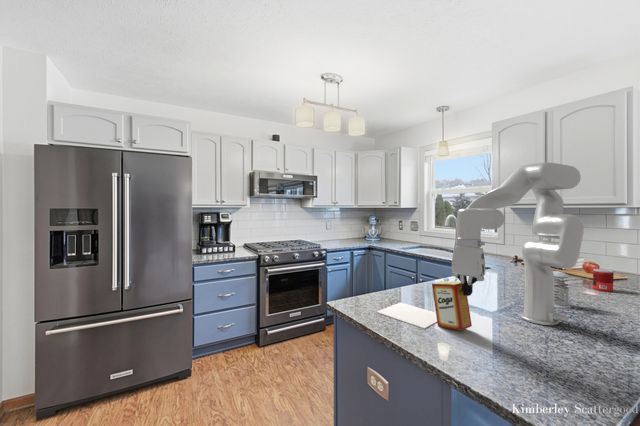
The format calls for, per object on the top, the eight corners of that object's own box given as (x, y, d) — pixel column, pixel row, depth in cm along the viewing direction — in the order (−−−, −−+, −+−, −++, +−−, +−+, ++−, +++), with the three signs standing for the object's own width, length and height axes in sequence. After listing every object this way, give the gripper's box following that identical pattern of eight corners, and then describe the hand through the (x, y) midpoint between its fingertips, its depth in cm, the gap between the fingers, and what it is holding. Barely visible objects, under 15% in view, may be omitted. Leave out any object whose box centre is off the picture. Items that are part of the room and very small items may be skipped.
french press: (569, 309, 128) (570, 252, 127) (536, 302, 137) (537, 249, 136) (573, 304, 134) (574, 250, 134) (542, 298, 143) (543, 247, 142)
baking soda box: (437, 326, 110) (431, 282, 112) (447, 322, 113) (441, 280, 115) (461, 330, 102) (454, 283, 104) (471, 326, 106) (464, 281, 108)
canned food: (617, 292, 154) (617, 271, 154) (602, 292, 154) (602, 271, 154) (603, 288, 162) (603, 268, 161) (588, 288, 162) (589, 268, 162)
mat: (447, 316, 119) (447, 315, 119) (424, 329, 107) (424, 327, 107) (400, 303, 135) (400, 302, 135) (376, 312, 123) (376, 311, 123)
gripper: (495, 244, 100) (494, 298, 101) (451, 240, 111) (450, 288, 112) (487, 246, 95) (486, 302, 96) (442, 242, 107) (441, 292, 107)
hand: (467, 294), depth 104 cm, fingers closed
